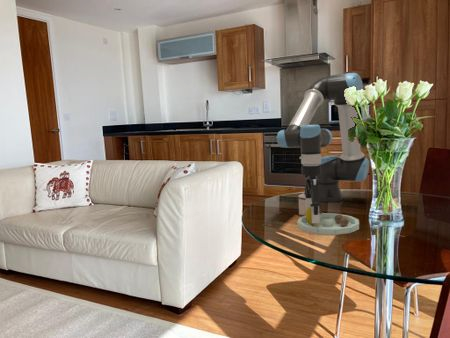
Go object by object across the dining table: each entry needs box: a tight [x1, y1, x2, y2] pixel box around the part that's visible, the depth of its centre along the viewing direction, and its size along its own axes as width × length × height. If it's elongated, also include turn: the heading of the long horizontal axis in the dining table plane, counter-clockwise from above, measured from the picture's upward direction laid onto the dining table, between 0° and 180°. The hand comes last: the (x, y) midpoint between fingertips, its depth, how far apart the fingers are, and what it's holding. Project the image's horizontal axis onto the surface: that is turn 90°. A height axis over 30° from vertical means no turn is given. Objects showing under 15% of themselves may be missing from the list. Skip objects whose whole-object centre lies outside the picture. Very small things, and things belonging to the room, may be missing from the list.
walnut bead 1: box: [335, 213, 343, 223], centre depth 145 cm, size 4×4×4 cm
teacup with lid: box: [297, 191, 306, 216], centre depth 164 cm, size 12×9×12 cm
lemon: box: [304, 206, 320, 226], centre depth 143 cm, size 6×6×8 cm
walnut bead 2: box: [339, 217, 349, 226], centre depth 141 cm, size 4×4×4 cm
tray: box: [296, 212, 360, 236], centre depth 143 cm, size 23×23×4 cm
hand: (312, 218), depth 143 cm, fingers open, 13 cm apart
